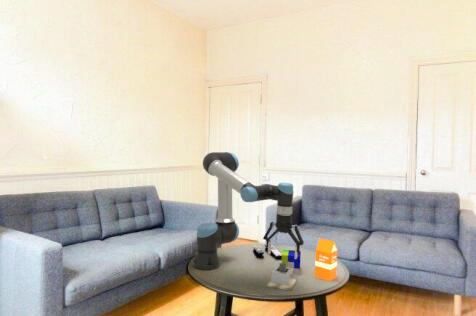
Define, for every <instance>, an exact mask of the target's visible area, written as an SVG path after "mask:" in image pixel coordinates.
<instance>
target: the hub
mask: <svg viewBox="0 0 476 316" xmlns="http://www.w3.org/2000/svg"><path fill="white" fill-rule="evenodd" d="M270 272H271V275H270V277H271V278H270V280H271V284H277V285H282V286H288V287H289V286H290V284H291V282H292V281H293V279H294V274H293V268H288V267H286V272H280V271H279V265H275V266H274V268H273V269H272V270H271V271H270Z"/></svg>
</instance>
